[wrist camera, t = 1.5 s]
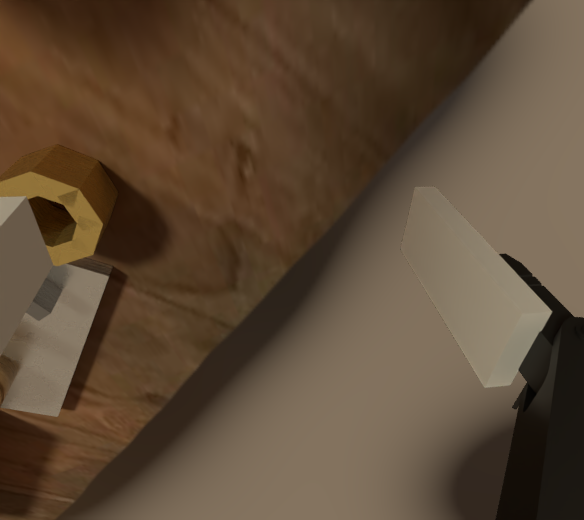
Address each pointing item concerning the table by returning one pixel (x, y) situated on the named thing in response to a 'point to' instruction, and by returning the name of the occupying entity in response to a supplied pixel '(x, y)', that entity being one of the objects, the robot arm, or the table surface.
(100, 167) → the gear
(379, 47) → the table surface
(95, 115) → the table surface
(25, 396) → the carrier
